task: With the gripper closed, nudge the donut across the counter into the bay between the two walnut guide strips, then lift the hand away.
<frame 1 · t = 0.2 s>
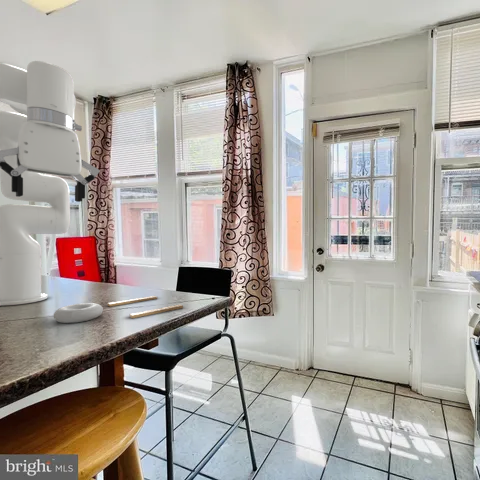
hand: (50, 198, 61), 31 cm above the countertop, tool pointing down, fingers open, 9 cm apart
donut: (79, 319, 73), on the countertop
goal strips: (145, 306, 86), on the countertop
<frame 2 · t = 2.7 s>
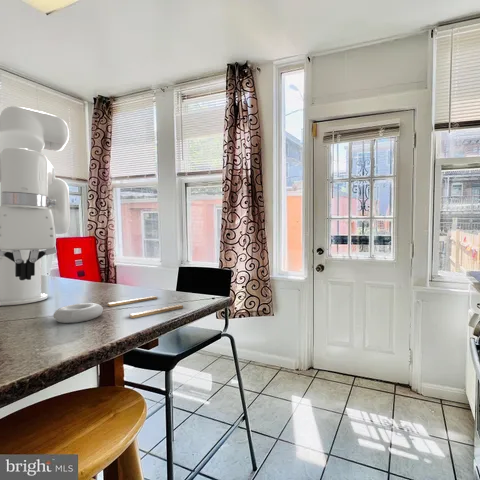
hand: (25, 279, 64), 12 cm above the countertop, tool pointing down, fingers closed
nothing on the countertop moved.
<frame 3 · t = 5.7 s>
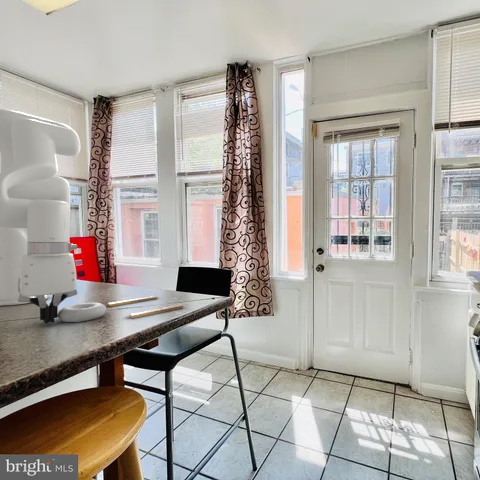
hand: (48, 321, 68), 1 cm above the countertop, tool pointing down, fingers closed
donut: (82, 318, 74), on the countertop, touching gripper
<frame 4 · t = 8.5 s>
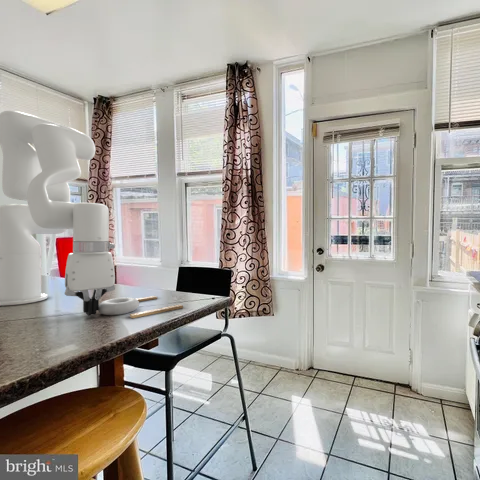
hand: (90, 314, 75), 1 cm above the countertop, tool pointing down, fingers closed
donut: (119, 312, 80), on the countertop, touching gripper
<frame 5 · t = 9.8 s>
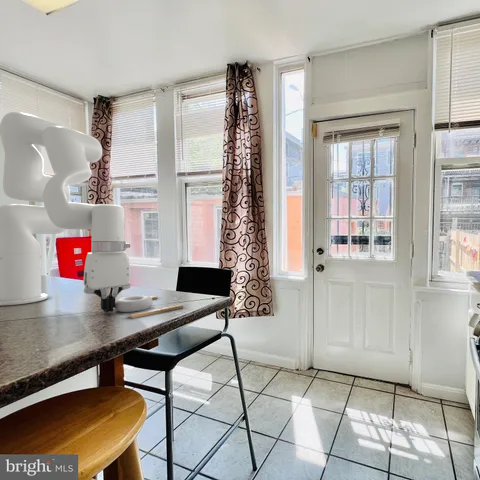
hand: (108, 311, 78), 1 cm above the countertop, tool pointing down, fingers closed
donut: (133, 309, 83), on the countertop, touching gripper
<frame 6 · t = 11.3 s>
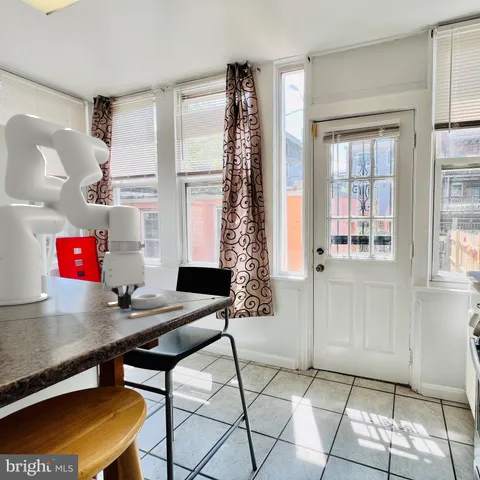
hand: (124, 308, 81), 1 cm above the countertop, tool pointing down, fingers closed
donut: (148, 306, 87), on the countertop, touching gripper
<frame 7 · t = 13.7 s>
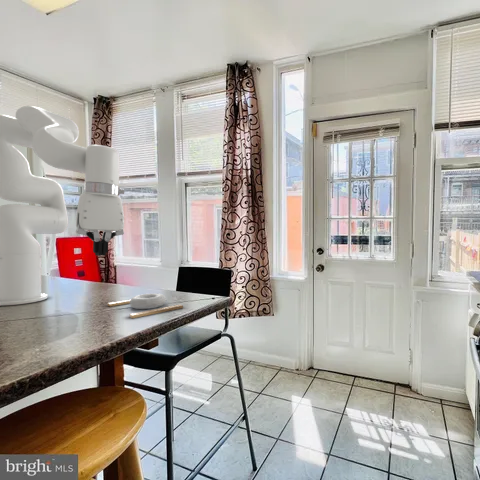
hand: (100, 255, 77), 17 cm above the countertop, tool pointing down, fingers closed
donut: (148, 306, 87), on the countertop
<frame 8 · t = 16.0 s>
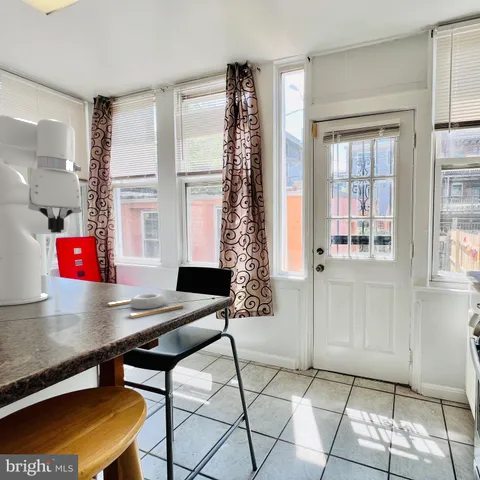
hand: (56, 232, 76), 23 cm above the countertop, tool pointing down, fingers closed
nothing on the countertop moved.
at the end: donut inside the target area (0.2 cm from its centre), on the countertop; donut moved 17.0 cm from its start; the gripper is holding nothing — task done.
